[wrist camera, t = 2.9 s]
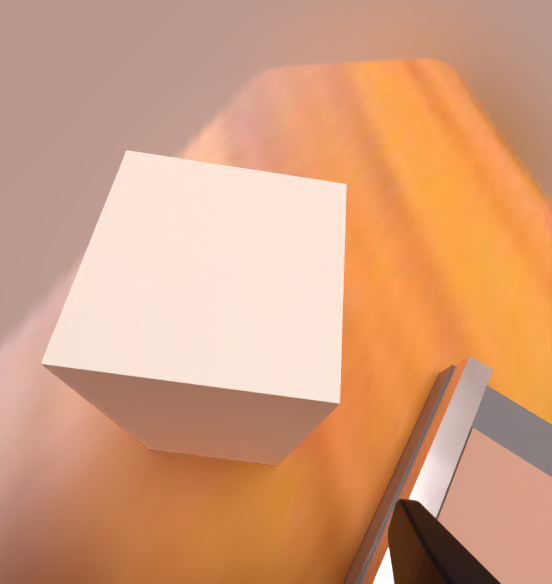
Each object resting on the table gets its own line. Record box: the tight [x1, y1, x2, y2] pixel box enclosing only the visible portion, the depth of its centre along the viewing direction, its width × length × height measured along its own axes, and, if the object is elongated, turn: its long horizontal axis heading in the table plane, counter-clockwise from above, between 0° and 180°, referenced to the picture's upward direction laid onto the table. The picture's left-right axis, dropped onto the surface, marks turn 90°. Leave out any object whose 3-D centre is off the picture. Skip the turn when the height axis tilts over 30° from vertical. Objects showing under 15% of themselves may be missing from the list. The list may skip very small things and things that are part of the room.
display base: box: [344, 356, 552, 584], centre depth 17 cm, size 13×11×3 cm
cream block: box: [41, 151, 347, 466], centre depth 15 cm, size 6×6×12 cm
